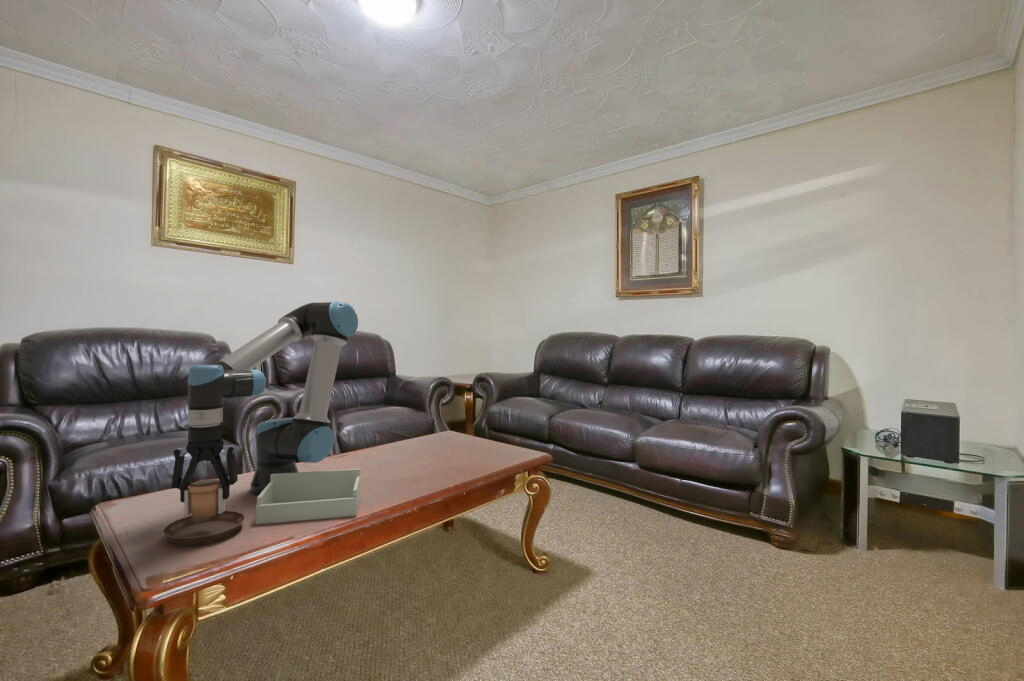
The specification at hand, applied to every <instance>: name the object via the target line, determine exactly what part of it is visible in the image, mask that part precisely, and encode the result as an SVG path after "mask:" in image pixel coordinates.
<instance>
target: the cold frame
mask: <svg viewBox="0 0 1024 681" xmlns="http://www.w3.org/2000/svg"><path fill="white" fill-rule="evenodd" d="M360 499H361V468H349V469H348V468H347V469H333V470H331V469H330V470H316V471H315V470H313V471H303V472H300V471H298V472H297V473H282V474H271V475H270V483H269V484H268V485H267V486H266V487H265V489H264V490H263V491H262V492H261V493H260V495H257V497H256V506H255V525H265V524H275V523H276V524H277V523H286V522H288V523H289V522H298V521H308V520H309V521H310V520H311V521H312V520H322V519H323V520H324V519H335V518H344V517H356V516H357V515H358V509H359V504H360Z"/></svg>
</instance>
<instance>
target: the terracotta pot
mask: <svg viewBox="0 0 1024 681" xmlns="http://www.w3.org/2000/svg"><path fill="white" fill-rule="evenodd" d="M221 486H222V485H221V483H220V481H219V478H217V479H216V478H207V479H202V480H197V481H194V482H190V484H189V486H188V488H189V492H190V493H191V514H190V516H191V517H192V518H207V517H211V516H214V515H216V514H218V489H219V488H220V487H221Z"/></svg>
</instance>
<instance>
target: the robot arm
mask: <svg viewBox="0 0 1024 681" xmlns="http://www.w3.org/2000/svg"><path fill="white" fill-rule="evenodd" d="M358 326H359V319H358V314H357V313H356V310H355V309H354V306H353V307H352V306H351V304H349V303H346V302H344V301H342V302H341V301H340V302H339V301H331V302H330V301H329V302H326V301H325V302H309V303H305V304H304V305H301V306H299V307H297V308H295V309H293V310H292V311H290V312H288V313H287V314H285V315H283V316H282V317H280V318H279V319H278V321H277V324H274V325H273V326H272V327H270V328H269V329H267V330H266V331H264V332H263V333H261V334H259V335H258V336H256V337H255V338H253V339H251V340H250V341H249V342H246V343H245V344H244V345H242V346H240V347H239V348H237V349H236V350H234V351H233V352H230V354H227V355H226V356H225V357H223V358H221V359H220V360H219V361H217V362H215V363H214V364H197V365H192V366H190V368H189V370H188V376H187V378H188V379H187V406H188V407H187V408H188V409H187V424H188V425H189V427H187V444H186V446H184V447H178V448H176V449H174V450H173V456H174V464H173V465H174V466H173V473H172V477H171V478H172V480H171V486H170V487H171V489H177V490H179V491H180V496H179V497H180V503H184V505H183V506H184V513H183V514H184V517H188V516H190V515H191V493H190V492H189V485H190V484H191V483H192V482H191V481H192V480H193V477H194V476H195V475H194V474H195V473H196V470H197V468H198V464H199V463H200V462H203V461H204V462H210V463H211V465H212V467H213V469H214V471H215V474H216V476H217V479H219V481H220V483H221V487H220V488H219V489H218V514H220V513H222V512H223V511H226V500H228V499H229V497H230V494H231V493H230V492H231V491H230V490H231V489H230V487H231V485H234V484H236V482H238V478H239V477H238V471H237V470H238V469H237V463H236V455H235V452H236V449H237V445H235V444H232V445H226V444H225V443H224V439H223V437H224V434H223V433H224V431H223V430H224V426H223V424H222V422H223V421H224V417H223V416H224V413H223V412H224V411H223V410H224V400H229V399H237V398H246V397H249V398H251V397H254V396H259V395H261V394H262V393H264V391H265V389H266V386H267V379H266V376H265V374H264V372H262V371H261V370H259V369H255V368H256V367H258V366H259V365H261V364H262V363H263V362H265V361H267V360H268V359H269V358H271V357H273V355H276V354H277V352H279V351H281V350H283V349H284V348H285V347H286V346H288V345H289V344H290V343H292V342H294V343H295V342H296V343H297V342H299V341H301V340H302V339H304V338H307V337H310V338H311V339H312V340H313V342H314V345H313V350H312V353H311V359H310V362H309V368H308V371H307V376H306V381H305V385H304V390H303V394H302V399H301V403H300V406H299V412H298V413H297V414H296V415H295V416H293V417H283V418H277V419H270V420H266V421H261V422H259V423H258V424H257V426H256V433H255V438H256V440H255V442H256V444H255V445H256V451H255V452H256V453H255V454H256V468H255V471H254V474H253V476H252V479H251V482H250V488H249V489H250V493H251V494H252V495H257V496H259V495H260V493H261V492H262V491H263V490H264V489H265V487H266V486H267V485H268V484H269V483H270V475H271V474H282V473H297V472H299V469H298V467H297V465H296V462H300V463H304V464H305V463H307V464H309V463H311V464H316V463H319V462H322V461H323V460H325V459H326V458H327V457H328V456H329V455H330V453H332V450H333V448H334V447H335V446H334V445H335V441H336V440H335V439H336V437H335V434H334V430H332V429H331V427H330V426H331V420H330V419H329V418H328V412H329V407H330V403H331V399H332V392H333V388H334V383H335V379H336V374H337V371H338V370H337V369H338V364H339V360H340V354H341V352H342V350H341V349H342V347H343V346H345V345H347V344H348V340H349V339H348V338H349V337H351V336H354V334H355V333H356V332H357V330H358V328H359V327H358ZM222 451H224V454H225V455H226V458H225V459H226V464H227V465H226V466H227V471H226V468H225V466H224V464H223V462H222V458H221V454H220V453H222ZM187 453H188V454H189V455H190V456H191V459H190V461H189V463H188V467H187V469H186V472H185V474H184V476H183V472H184V464H185V456H186V455H187ZM227 473H228V474H227Z"/></svg>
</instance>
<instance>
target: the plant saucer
mask: <svg viewBox="0 0 1024 681" xmlns="http://www.w3.org/2000/svg"><path fill="white" fill-rule="evenodd" d="M245 519H246V516H245V514H243V513H242V512H239V511H234V510H224V511H223V512H222V513H220V514H216V515H214V516H211V517H207V518H192V517H191V515H188V516H184V517H182V518H179V519H177V520H175V521H173V522H171V523H169V524H168V525H166V526H165V527H164V528H163V530H162V533H163V536H165V538H166V539H167V540H169V541H170V542H171V543H173V544H175V545H179V546H187V545H189V546H198V545H199V544H201V545H205V543H206V544H210V542H211V543H213V541H214V542H218V541H221V540H223V539H225V537H226V538H227V536H228V537H230V536H231V535H233V534H234V533H235V532H236V531H237V530H238V529H239V528H240V527H241V526H242V525H243V523H244V522H245ZM229 535H230V536H229ZM220 539H221V540H220ZM217 540H218V541H217Z"/></svg>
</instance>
